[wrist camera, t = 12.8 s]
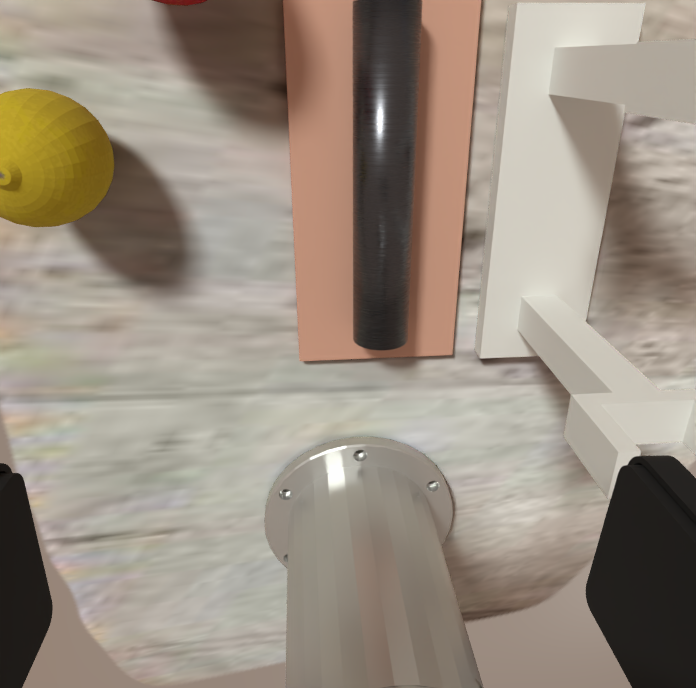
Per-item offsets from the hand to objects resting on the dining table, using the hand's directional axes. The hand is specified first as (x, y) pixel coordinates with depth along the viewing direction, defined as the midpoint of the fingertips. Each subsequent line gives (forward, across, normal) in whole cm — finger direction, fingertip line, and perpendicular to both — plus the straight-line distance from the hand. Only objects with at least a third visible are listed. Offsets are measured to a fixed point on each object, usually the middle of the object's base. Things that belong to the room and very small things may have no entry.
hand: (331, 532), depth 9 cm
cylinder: (+22, -4, -2) cm, 22 cm away
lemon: (+24, +12, -3) cm, 27 cm away
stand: (+24, -13, -1) cm, 27 cm away
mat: (+24, -4, -2) cm, 24 cm away
